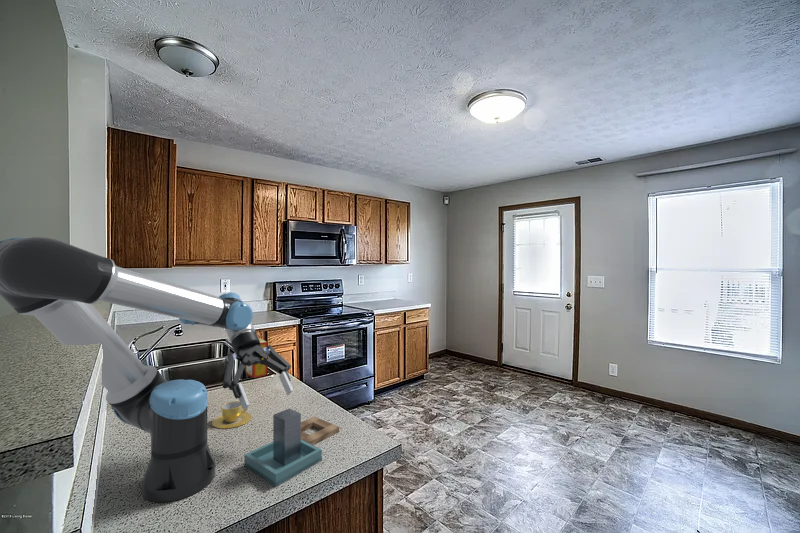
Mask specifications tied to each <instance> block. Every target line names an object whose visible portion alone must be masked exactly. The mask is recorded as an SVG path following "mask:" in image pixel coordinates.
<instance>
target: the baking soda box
mask: <svg viewBox="0 0 800 533" xmlns="http://www.w3.org/2000/svg"><path fill="white" fill-rule="evenodd" d="M258 339H259V341H260V345H261V347H262V348H265V347H268V341H266V340H264V339H262V338H259V337H258ZM264 354H265V353H264ZM263 359H264V358H262V360H263ZM244 370H245V375H247V376H248V377H249V378H251V379H252V378H254V377H259V378H262V377H261V376H264V375H267V376H268V367H267V366H265V365H261V364H260V363H258V364H256V365H251V366H247V365H245V368H244ZM264 377H265V376H264Z"/></svg>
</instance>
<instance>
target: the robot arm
mask: <svg viewBox="0 0 800 533" xmlns="http://www.w3.org/2000/svg"><path fill="white" fill-rule="evenodd" d="M0 296H1V298H2V299H4V301H5V302H7V304H8V305H10V306H11V308H12V309H13V310H15V311H16V312H17V314H19V315H22V316H32V317H35V318H36V319H37V320H38V321H39V323H41V324H42V325H43V326H44V327H45V328H46V329H47V330H48V332H50V334H52V335H53V336H54V337H55V338H56V340H58V341H59V343H60V344H62V346H64V345H90V344H98V343H101V344H102V349H103V363H102V384H101V385H102V386H103V387H104V388H105V389H106V391H107V392H106V396H105V401H106V402H107V403H108V404H109V405H110V406H111V408H112V411H113V412H114V415H115V416H116V417H117V418H118V419H119V420H120V421H121V422H123V423H125V424H127V425H130V426H133V427H134V428H137V429H140V430H142V431H144V432H145V433H148V434H150V458H149V461H148V465H147V468H146V469H145V470H146V471H145V474H144V475H143V479H142V482H141V495H142V497H143V498H144V499H145V500H147V501H148V502H149V501H150V502H153V503H169V502H174V501H178V500H181V499H185V498H187V497H190V496H193V495H194V494H196V493H198V492H200V491H201V490H203V489H204V488H207V486H208V485H209V484H211V482H213V480H214V479H215V476H216V462H215V459H214V457H213V454H212V451H211V450H210V447H209V444H208V404H209V398H208V390H207V387H206V386H205V385H204V383H202V382H200V381H197V380H196V379H195V380H194V379H186V380H185V379H183V378H182V379H173V380H166V378H165V377H164V376H163V375H162V373H160V371H159V370H158V369H157V367H155V366H154V365H144V363H143V362H142V361H141V360H140V359H139V358H138V356H137V355H136V354H135V353H134V352H133V351H132V350H131V348H130V347H129V345H127V343H125V341H124V340H123V339H122V337H120V336H119V335H118V333H117V332H116V331H115V330H114V328H112V326H111V325H110V324H109V323H108V322H107V321H106V319H105V318H104V317H103V316H102V315H101V313H100V312H99V311H98V310H97V309H96V308H95V307H94V305H93V304H96V303H98V302H99V301H100V302H104V303H109V304H112V305H116V306H117V305H119V306H121V307H127V308H130V309H135V310H141V311H144V312H150V313H153V314H159V315H164V316H168V317H173V318H176V319H177V318H178V320H179V322H180V323H182V324H183V325H192V326H194V325H200V326H201V325H202V326H209V327H214V328H221V329H224V330H225V333H226V334H227V337H228V339H229V342H230V344H231V348H232V350H233V352H234V353H233V352H228V354H227V355H226V356H225V359H224V360H225V363H226V365H225V371H224V376H223V382H222V388H223V389H229V391H232V394H233V396H234V398H235V399H236V400H237V399H238V402H240V403H241V406H242V411H243V410H245V409H246V408H247V407H248V408H249V406H250V401H249V400H248V397H247V394H246V392H245V388H244V386H243V384H242V382H240V381H239V380H240V379H241V376H242V374H243V373H244V370H245V365H247V366H251V365H256V364H258V363H260V364H261V365H265V366H267V368H269V369H270V370H273V371H274V372H275V373H277V374H279V375H278V377H279V378H278V379H279V381H280V382H281V385H282V387H283V389H284V391H285V394H286V395H287V396H289V395H291V393H292V392H293V391H294V388H293V386H292V383H291V381H292V380H291V377H290V375H289V372H288V371H289V370H290V369H291V368H292V365H291V364H290V363H289V362H288V361H287V360H286V359H285V358H284V357H283V356H282V355H280V354H279V353H278V352H277V351H276V350H275V348H273V346H272V344H267V347H265V348H262V347H261V345H260V341H259V337H258V334H257V332H256V329H255V327H254V325H253V323H252V321H253V317H254V312H253V309H252V307H251V306H250V305H249V304H248V303H245V302H244V301H243V300H242V299H241V297H240V295H239V294H237V293H236V292H231V291H230V292H228V293H227V292H226V293H222V294H220V295H219V296H217V295H214V294H210V293H207V292H203V291H202V290H201V291H200V290H198V289H197V290H196V289H193V288H190V287H187V286H184V285H181V284H176V283H173V282H171V281H166V280H164V279H160V278H157V277H153V276H150V275H147V274H144V273H141V272H137V271H134V270H132V269H131V270H130V269H127V268H124V267H120V266H117V265H116V264H115V261H114V260H113V259H111V258H109V257H105V256H102V255H100V254H99V255H98V254H96V253H93V252H91V251H88V250H86V249H82V248H80V247H77V246H74V245H72V244H69V243H67V242H64V241H61V240H58V239H54V238H51V237H50V238H49V237H41V236H34V237H23V236H21V237H20V236H19V237H9V238H7V239H3V240H0ZM264 353H265V354H264ZM262 358H264V359H263V360H262ZM235 360H237V361H238V362H240V363H239V365H238V367H237V370H236V373H235V375H234V377H233V379H232V376H233V368H234V362H235ZM239 382H240V383H239Z"/></svg>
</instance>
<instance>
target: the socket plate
mask: <svg viewBox="0 0 800 533" xmlns="http://www.w3.org/2000/svg"><path fill="white" fill-rule="evenodd" d="M312 428H314V429H317V430H318V431H316V432H314V433H312V434H308V433H306V432H305V431H307V430H309V429H312ZM337 433H340V426H338V425H336V424H333V423H331V422H329V421H326V420H323V419H322V418H319V417H316V416H312V417H310V418H307V419H305V420H303V421H301V440H303V441H305V442H307V443H309V444H312V445H314V446H315V445H317V444H318V443H321V442H323V441H324V440H326V439H328V438H330V437H332V436H333V435H335V434H337Z"/></svg>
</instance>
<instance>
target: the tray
mask: <svg viewBox="0 0 800 533" xmlns="http://www.w3.org/2000/svg"><path fill="white" fill-rule="evenodd" d="M322 453H323V452H322V449H321V448H320V447H318V446H315V445H312V444H309V443H307V442H305V441H303V440H301V458H299V459H297V460H295V461H294V462H292V463H290V464H288V465H286V466H283V465H282V464H280V463H278V462H277V461H275V460H273V441H271V442H268V443H266V444H265V445H262V446H260V447H258V448H256V449H253V450H251V451H249V452H247V453H245V454H244V455H243V456H244V464H243V465H244V467H246V468H247V469H248V470H250V471H251V472H253V473H255V474H256V475H258V476H259V477H260V478H262V479H263V480H265V481H267V482H268V483H269V484H271V485H273V486H274V487H276V488H277V487H278V486H280V485H282V484H285V482H287V481H289V480H290V479H292V478H295V477H296V476H298V475H299V474H301V473H302V472H304V471H306V470H308V469H309V468H312V467H313V466H314V465H316V464H318V463H321V461H323V460H322V459H323V458H322V457H323V456H322Z"/></svg>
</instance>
